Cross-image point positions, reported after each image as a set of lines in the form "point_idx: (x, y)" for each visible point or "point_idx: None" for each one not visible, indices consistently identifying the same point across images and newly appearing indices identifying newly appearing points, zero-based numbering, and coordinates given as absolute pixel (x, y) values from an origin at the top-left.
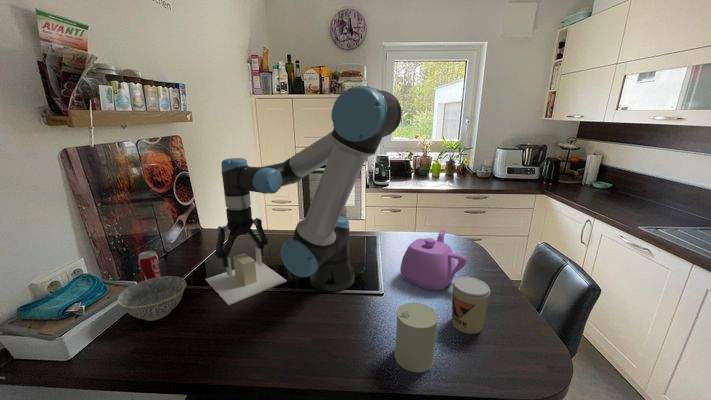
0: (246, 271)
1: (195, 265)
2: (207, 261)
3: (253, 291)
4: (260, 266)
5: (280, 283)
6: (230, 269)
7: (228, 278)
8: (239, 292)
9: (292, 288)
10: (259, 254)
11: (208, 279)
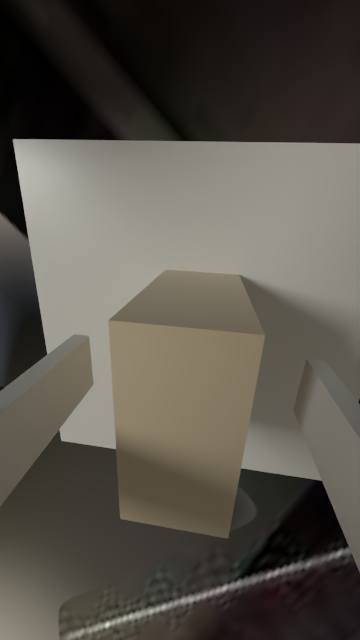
0: (225, 300)
1: (278, 581)
2: (228, 574)
3: (238, 175)
4: None
5: (60, 141)
6: (342, 397)
7: (253, 412)
8: (304, 235)
9: (17, 3)
10: (14, 397)
11: None
